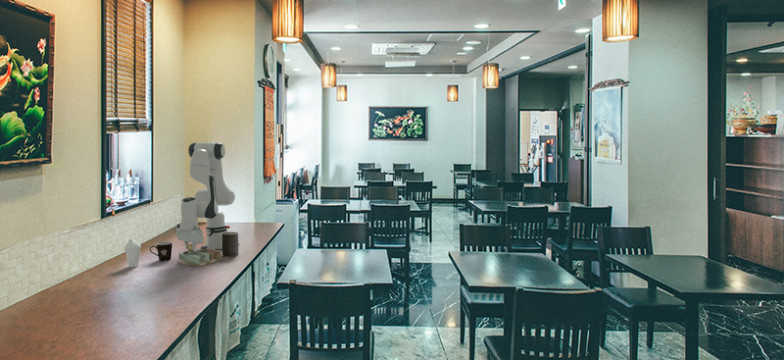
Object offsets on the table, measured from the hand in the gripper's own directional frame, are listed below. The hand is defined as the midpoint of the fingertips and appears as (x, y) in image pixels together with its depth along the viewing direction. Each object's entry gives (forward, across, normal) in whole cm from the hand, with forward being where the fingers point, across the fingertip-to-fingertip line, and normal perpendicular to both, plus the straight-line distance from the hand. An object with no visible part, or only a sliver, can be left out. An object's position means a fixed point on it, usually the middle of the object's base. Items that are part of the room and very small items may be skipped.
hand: (190, 249), depth 270 cm
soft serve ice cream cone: (+8, +20, +22) cm, 31 cm away
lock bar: (+2, 0, -5) cm, 5 cm away
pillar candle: (+8, -4, -25) cm, 27 cm away
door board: (+8, -2, -5) cm, 10 cm away
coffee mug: (+8, +20, +5) cm, 22 cm away
